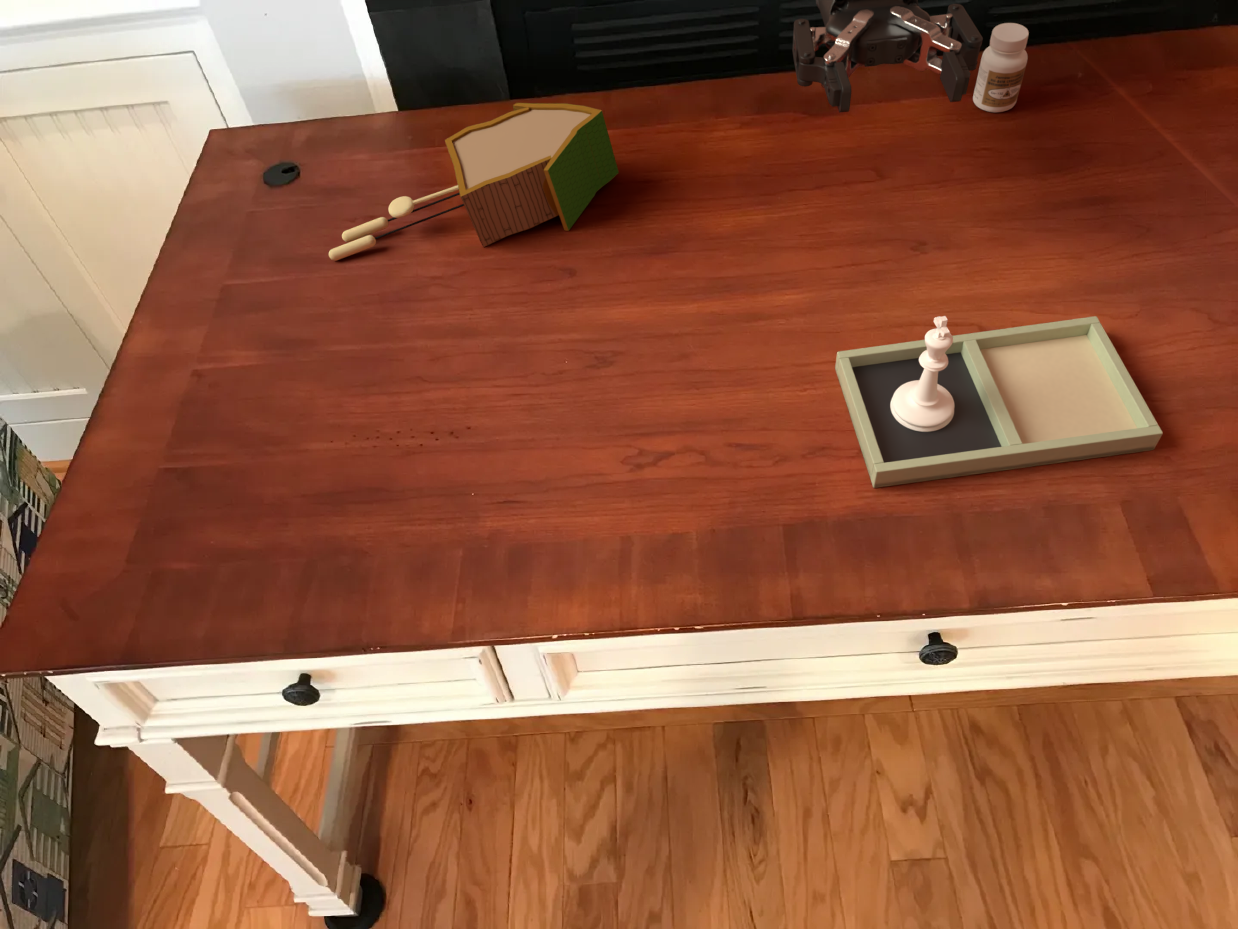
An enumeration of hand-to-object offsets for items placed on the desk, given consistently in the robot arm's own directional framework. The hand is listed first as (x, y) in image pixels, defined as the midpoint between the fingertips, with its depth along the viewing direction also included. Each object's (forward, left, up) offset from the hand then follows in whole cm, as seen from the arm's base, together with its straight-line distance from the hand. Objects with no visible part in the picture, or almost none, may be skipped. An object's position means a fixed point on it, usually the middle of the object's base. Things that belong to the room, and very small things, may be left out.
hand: (902, 96), depth 75 cm
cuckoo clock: (+36, -16, -18) cm, 44 cm away
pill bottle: (-19, -23, -18) cm, 35 cm away
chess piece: (+1, +17, -17) cm, 24 cm away
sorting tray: (-5, +17, -18) cm, 25 cm away
